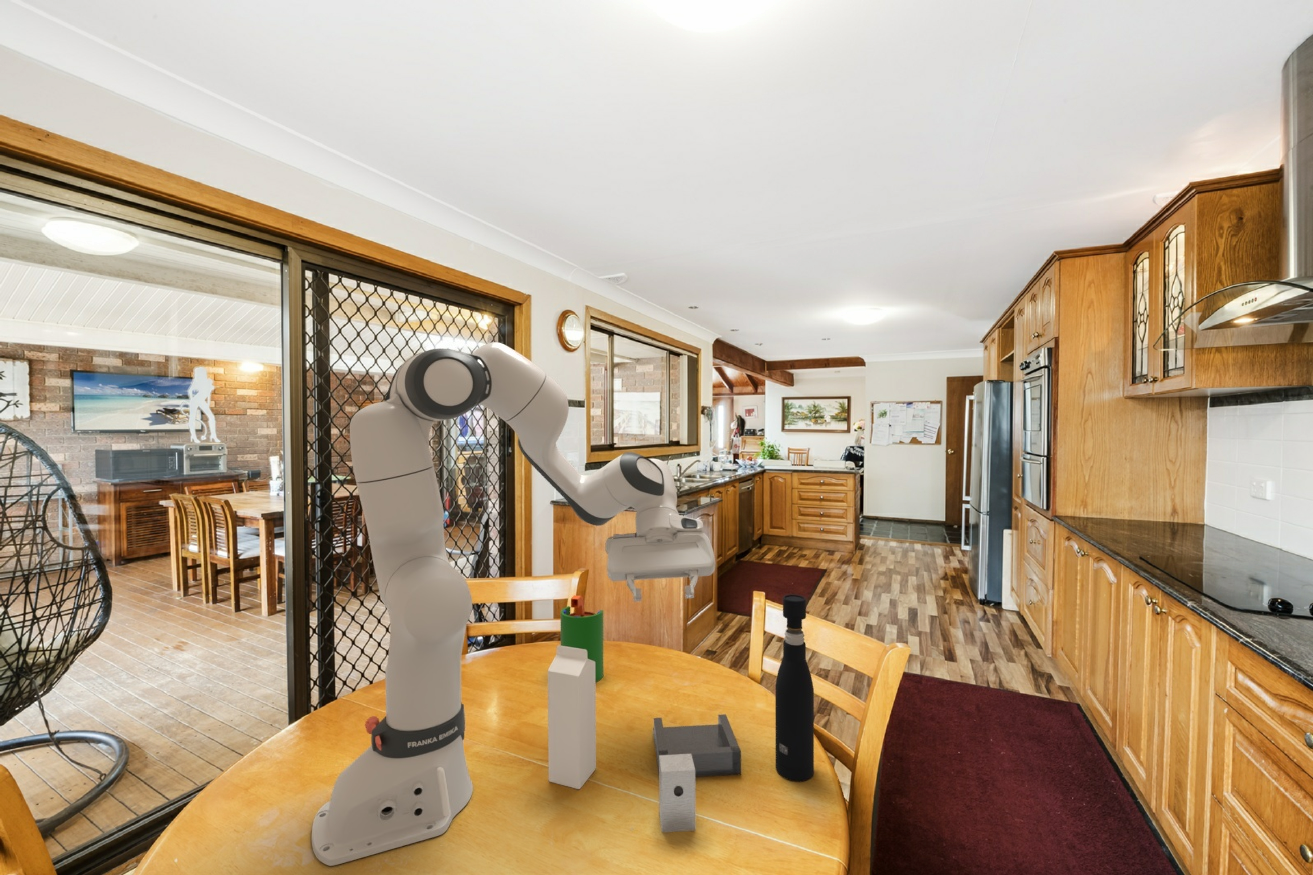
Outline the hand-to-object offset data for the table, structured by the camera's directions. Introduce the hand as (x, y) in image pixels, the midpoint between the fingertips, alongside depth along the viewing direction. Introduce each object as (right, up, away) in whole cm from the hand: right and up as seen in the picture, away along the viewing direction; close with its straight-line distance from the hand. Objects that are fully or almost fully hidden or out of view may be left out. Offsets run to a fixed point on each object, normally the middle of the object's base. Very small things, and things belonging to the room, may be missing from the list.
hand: (663, 598), depth 97 cm
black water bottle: (+23, -29, -3) cm, 37 cm away
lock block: (+2, -29, -15) cm, 33 cm away
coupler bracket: (+6, -29, +2) cm, 29 cm away
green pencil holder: (-19, -29, +32) cm, 47 cm away
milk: (-16, -29, -4) cm, 33 cm away
